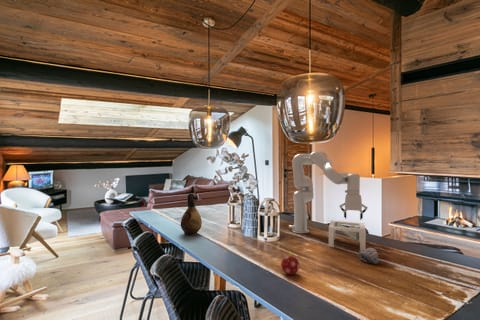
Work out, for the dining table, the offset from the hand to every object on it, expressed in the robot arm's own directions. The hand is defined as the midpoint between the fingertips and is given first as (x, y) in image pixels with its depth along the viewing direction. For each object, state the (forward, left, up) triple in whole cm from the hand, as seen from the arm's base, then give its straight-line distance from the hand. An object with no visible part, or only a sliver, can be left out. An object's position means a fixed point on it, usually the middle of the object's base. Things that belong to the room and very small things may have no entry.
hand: (353, 218), depth 181 cm
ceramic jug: (-111, -19, -17) cm, 114 cm away
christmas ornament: (-28, -62, -17) cm, 70 cm away
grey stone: (-1, 0, -9) cm, 9 cm away
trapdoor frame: (-3, 0, -17) cm, 17 cm away
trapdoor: (-5, 0, -9) cm, 10 cm away
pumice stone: (+8, -29, -17) cm, 35 cm away
